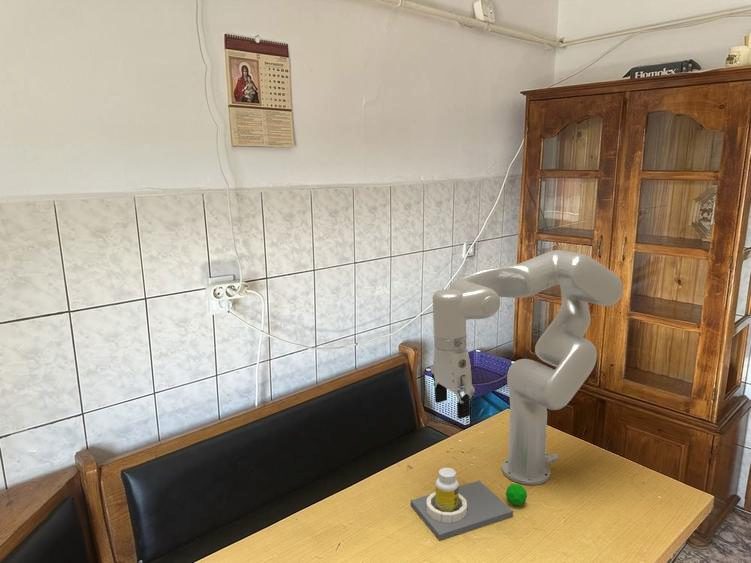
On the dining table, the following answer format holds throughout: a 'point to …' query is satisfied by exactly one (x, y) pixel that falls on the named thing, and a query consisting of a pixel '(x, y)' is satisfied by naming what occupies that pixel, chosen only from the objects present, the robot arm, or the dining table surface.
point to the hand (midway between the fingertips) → (452, 408)
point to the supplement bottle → (447, 491)
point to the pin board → (475, 511)
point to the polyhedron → (516, 494)
